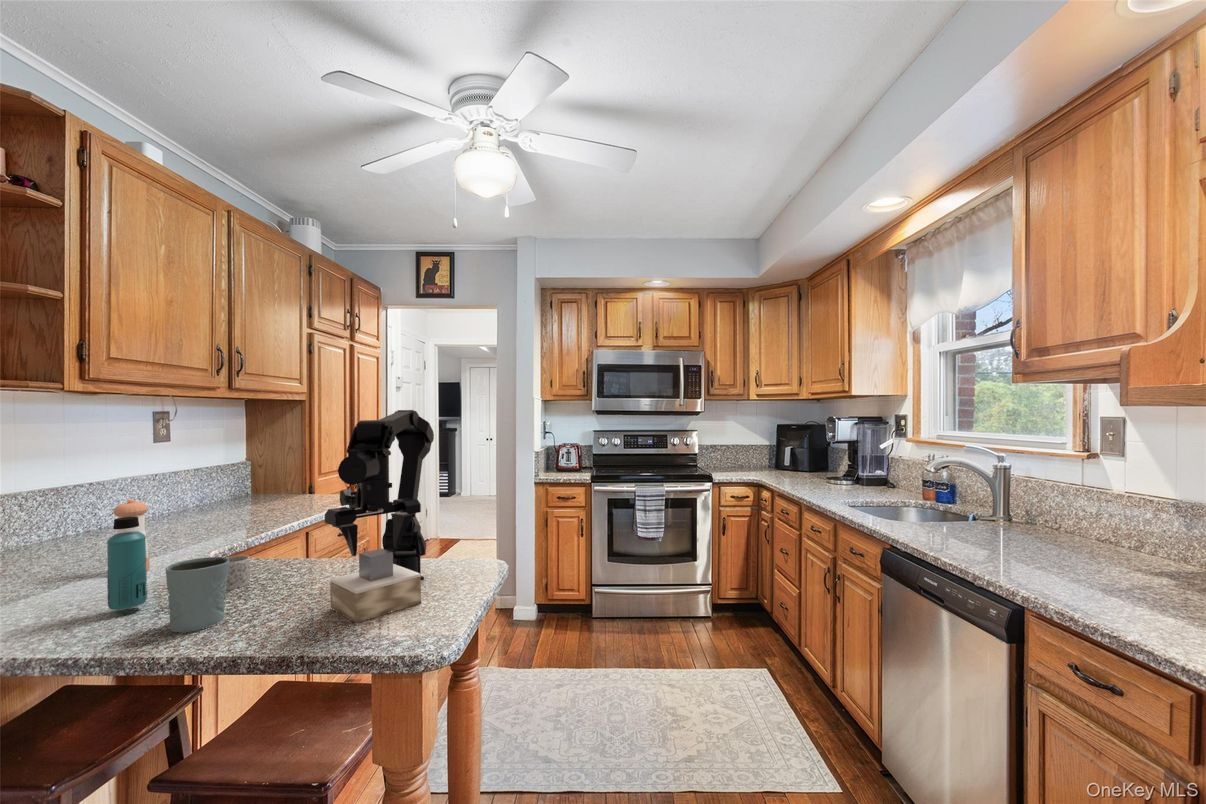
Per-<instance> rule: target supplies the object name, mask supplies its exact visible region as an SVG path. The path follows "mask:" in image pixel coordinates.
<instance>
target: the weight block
mask: <svg viewBox="0 0 1206 804" xmlns="http://www.w3.org/2000/svg"><path fill="white" fill-rule="evenodd" d="M358 568H359V569H358V572H359V577H361V578H363V579H366V580H368V581H374V580H378V579H382V578H386V577H390V576H393V552H391V551H388V550H385V549H383V547H382V548H377V549H373V550H368V551H363V552H360V553H358Z"/></svg>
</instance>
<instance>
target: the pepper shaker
mask: <svg viewBox="0 0 1206 804" xmlns="http://www.w3.org/2000/svg"><path fill="white" fill-rule="evenodd" d="M148 511H149V506H148V504H147V503H145V502H142V501H136V500H135V499H134V498H133V499H132V498H131V499H128V500H127V501H126V502H123V503H120V504H118V505H116V506H115V507H114V508H113V515H114V516H115V517H117V518H122V517H131V516H136V517H138V520H139V526H138V527H134V528H127V529H116V531H117V533H116V534H118V533H123V532H133V531H138V532H141V533H142V534H144V535H145V536H146V539H145V542H146V557H147V558H146V569H147V570H146V572H147V571H149V570H150V556H149V555H148V551H149V549H148V548H149V547H148V546H149V544H148V539H147V533H146V526H145V525H146V521H145V520H146V519H145V514H147V513H148ZM117 518H116V519H117Z"/></svg>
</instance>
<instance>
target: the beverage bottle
mask: <svg viewBox="0 0 1206 804" xmlns="http://www.w3.org/2000/svg"><path fill="white" fill-rule="evenodd" d="M138 526H139V520H138V517H136V516H131V517H122V518H115V519H114V521H113V526H112V527H113V530H117V529H127V528H134V527H138ZM146 537H147V535H146V536H145V535H144V534H142V533H141V532H138V531H133V532H123V533H118V534H117V533H115V534H113V535H112V536H111V537H110V538H108V539H107V541H106V545H107V553H106V554H107V556H106V557H107V571H106V573H107V574H106V578H107V579H106V580H107V582H106V583H107V584H106V588H107V589H106V590H107V594H106V597H107V600H106V605H107V607H108V609H110V610H113V611H115V610H116V611H117V610H125V609H131V608H134V607H138V606H141V605H143V604H145V603H146V602H147V600H148V593H149V592H148V591H149V590H148V579H147V574H148V572H147V571H146V570H147V569H146V558H147V557H146V542H145V539H146Z"/></svg>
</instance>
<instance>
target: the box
mask: <svg viewBox="0 0 1206 804" xmlns="http://www.w3.org/2000/svg"><path fill="white" fill-rule="evenodd" d="M421 581H422V580H421V577H417V578H413V579H410V580H406V581H402V582H399V583H395V584H391V585H388V586H384V587H380V588H377V589H373V590H369V591H366V592H362V593H358V594H355V593H353V592H351V591H349V590H347V589H345V588H343V587H341V586H339V585H337V584H334V583H332V582H330V581H329V582H330V583H329V586H330V587H329V589H330V591H329V592H330V595H329V596H330V609H331V608H332V609H334V610H335V611H337V612H338V614H339V613H340V614H339V615H341V614H342V615H341V616H343V615H344V616H343V617H344V618H346V617H348V618H349V620H350V619H351V620H350V621H352V620H353V621H352V622H354V623H356V624H358V622H359V623H361V621H362V622H364V621H363V620H365V621H368V620H371V619H374V618H377V616H378V617H381V616H384V615H387V614H389V612H390V613H392V612H391V611H394V612H396V611H395V610H397V611H399V610H398V609H400V610H402V609H406V608H409V607H413V606H416V605H418V603H419V604H421V603H422V589H421V588H422V582H421ZM415 604H416V605H415ZM332 609H331V610H332ZM335 611H334V612H335ZM337 612H336V613H337ZM386 613H387V614H386ZM383 614H384V615H383ZM380 615H381V616H380ZM348 618H347V619H348ZM370 618H371V619H370ZM367 619H368V620H367Z"/></svg>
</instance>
